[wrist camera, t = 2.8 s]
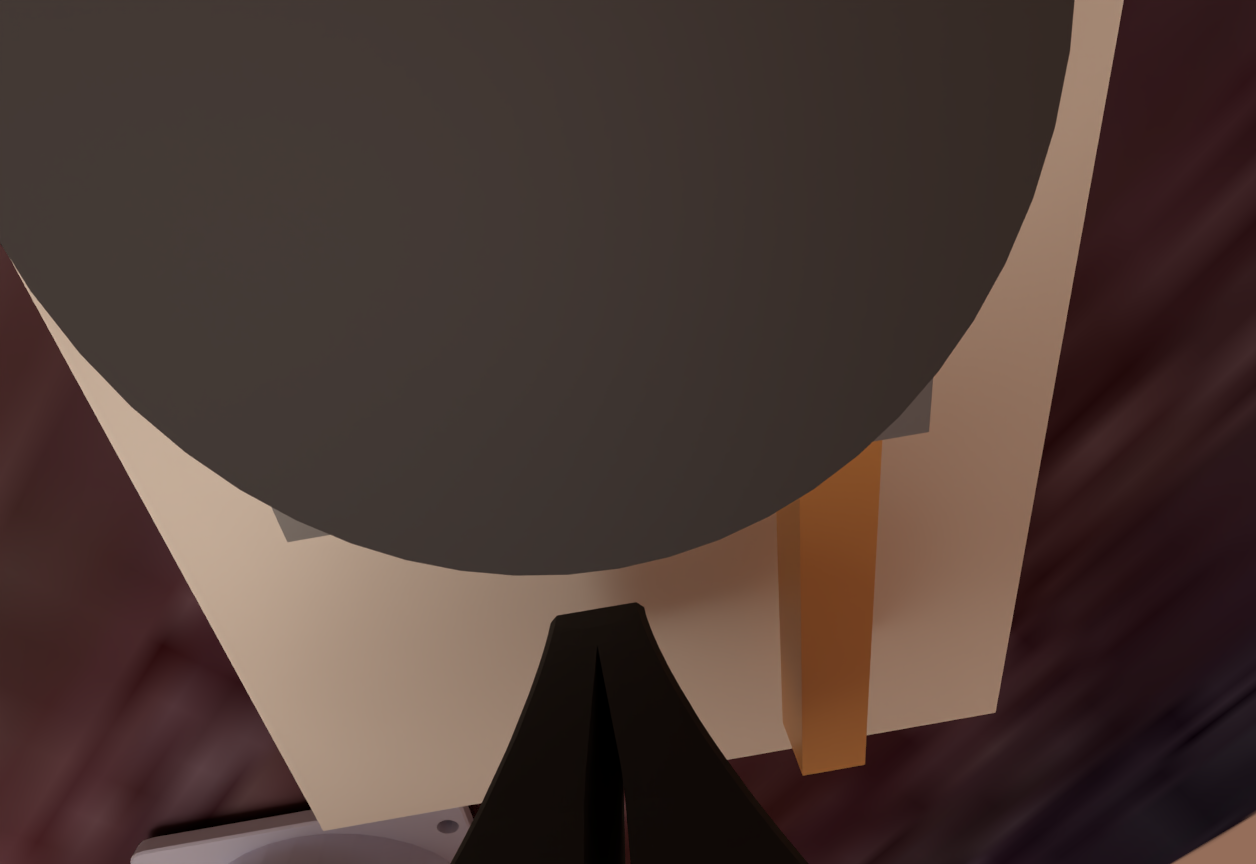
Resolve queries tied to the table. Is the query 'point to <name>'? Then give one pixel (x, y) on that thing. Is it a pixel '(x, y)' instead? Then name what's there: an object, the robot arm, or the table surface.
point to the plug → (522, 246)
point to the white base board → (667, 588)
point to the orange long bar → (829, 614)
